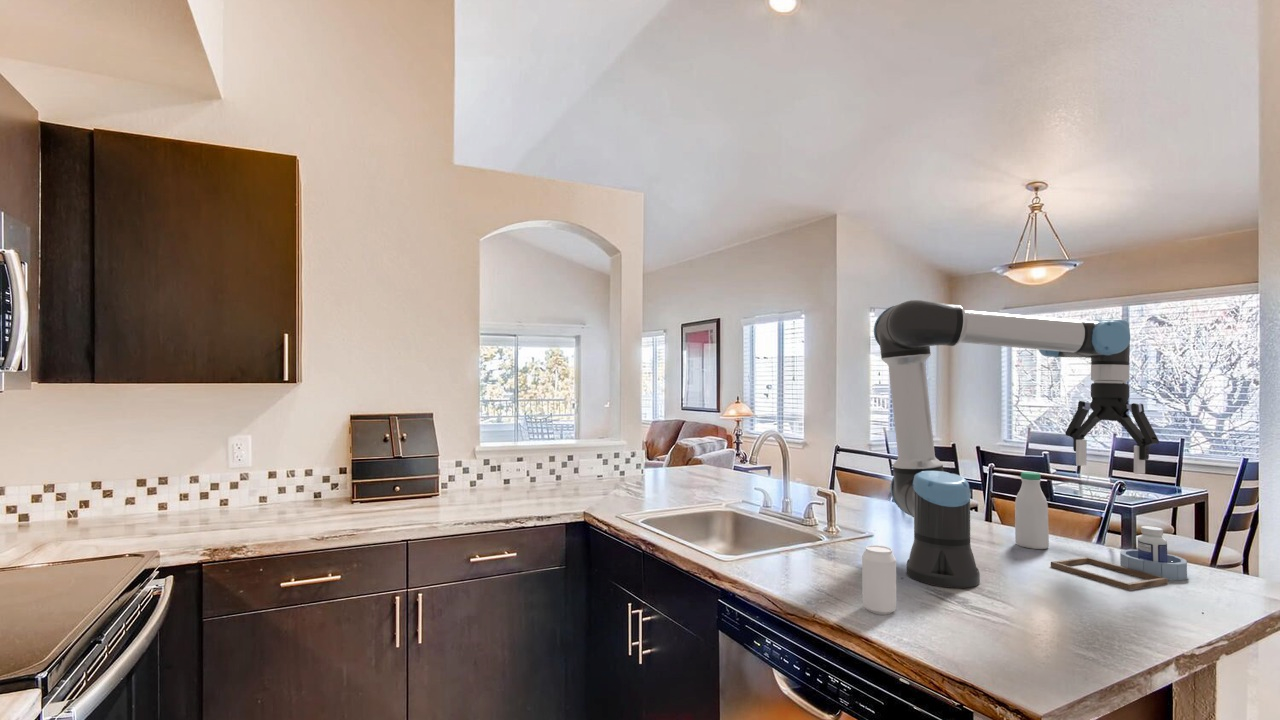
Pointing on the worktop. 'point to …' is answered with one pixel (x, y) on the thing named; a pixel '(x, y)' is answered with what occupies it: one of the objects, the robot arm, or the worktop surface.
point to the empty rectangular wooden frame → (1151, 581)
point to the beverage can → (879, 580)
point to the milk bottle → (1031, 513)
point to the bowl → (1155, 565)
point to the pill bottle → (1152, 545)
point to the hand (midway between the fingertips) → (1109, 469)
